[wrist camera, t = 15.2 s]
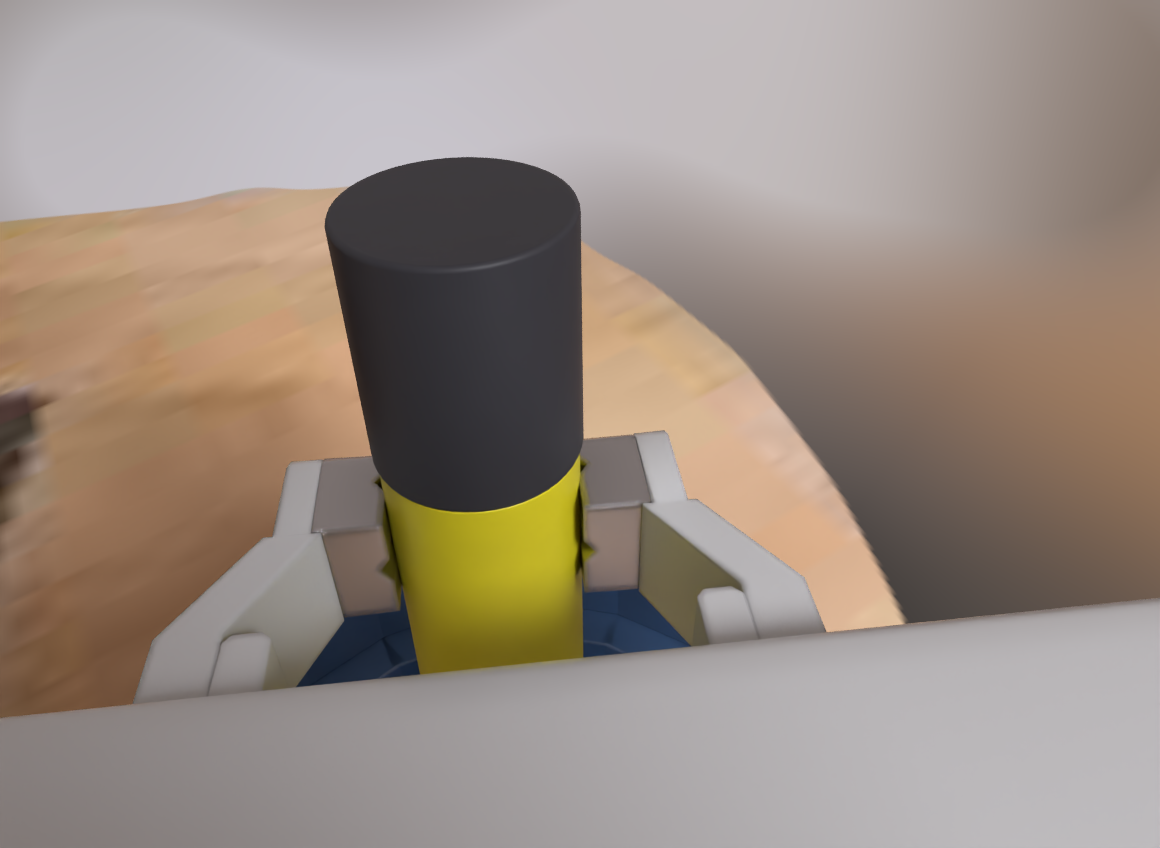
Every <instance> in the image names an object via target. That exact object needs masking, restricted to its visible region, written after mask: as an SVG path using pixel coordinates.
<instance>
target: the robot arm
mask: <svg viewBox="0 0 1160 848" xmlns="http://www.w3.org/2000/svg"><path fill="white" fill-rule="evenodd" d="M579 505H580V522H581V534H580V559H581V572H582V578H583V584H584V590H585V593H588V592H602V591H616V590H630V589H639V592H640V593H641V594H642V595H643V596H644V597H645V598H646V599H647V600H648V601H649V602H650V604H651V605H652V606H653V607H654V608H655V609H656V610H657V611H658V612H659V613H660V614H661V615H662V616H663V617H664V618H665V619H666V620H667V621H668V622H669V623H670V624H671V626H672V627H673V628H674V629H675V630H676V631H677V632H678V633H679V634H680V635H681V636H682V637H683V638H684V639H685V640H686V641H687V642H688V643H689V644H690V645H691V647H682V648H672V649H662V650H652V651H643V652H633V653H623V654H613V655H603V656H593V657H583V658H574V659H564V660H554V661H544V662H535V663H525V664H516V665H506V666H496V667H487V668H477V669H468V670H458V671H448V672H439V673H429V674H420V675H410V676H401V677H391V678H381V679H372V680H362V681H352V682H343V683H333V684H323V685H314V686H304V687H296V686H297V685H298V683H299V682H300V681H301V679H302V678H303V677H304V675H305V674H306V672H307V671H308V670H309V668H310V667H311V666H312V664H313V663H314V662H315V660H316V659H317V657H318V656H319V655H320V653H321V652H322V651H323V649H324V648H325V646H326V645H327V644H328V642H329V641H330V640H331V638H332V637H333V636H334V634H335V633H336V631H337V630H338V629H339V627H340V626H341V625H342V623H343V622H344V618H345V617H353V616H361V615H369V614H377V613H385V612H393V611H400V605H401V587H402V582H401V577H400V572H399V567H398V562H397V557H396V553H395V548H394V543H393V538H392V533H391V528H390V523H389V518H388V513H387V508H386V503H385V498H384V494H383V489H382V484H381V479H380V475H379V473H378V472H377V470H376V468H375V465H374V463H373V459H372V456H365V457H349V458H332V459H324V460H309V461H293V462H291V463H290V464H289V465H288V467H287V468H286V473H285V478H284V482H283V487H282V492H281V497H280V502H279V507H278V511H277V516H276V521H275V526H274V531H273V536H272V537H267V538H262V539H261V540H260V541H259V542H258V543H257V544H256V545H254V546H253V547H252V548H251V549H250V550H249V551H248V552H247V553H246V554H245V555H244V556H243V557H242V558H241V559H239V560H238V561H237V562H236V563H235V564H234V565H233V566H232V567H231V568H230V569H229V570H228V571H227V572H225V573H224V574H223V575H222V576H221V577H220V578H219V579H218V580H217V581H216V582H215V583H214V584H213V585H211V586H210V587H209V588H208V589H207V590H206V591H205V592H204V593H203V594H202V595H201V596H200V597H199V598H197V599H196V600H195V601H194V602H193V603H192V604H191V605H190V606H189V607H188V608H187V609H186V610H185V611H183V612H182V613H181V614H180V615H179V616H178V617H177V618H176V619H175V620H174V621H173V622H172V623H171V624H169V625H168V626H167V627H166V628H165V629H164V630H163V631H162V632H161V633H160V634H159V635H158V636H157V637H155V638H154V639H153V640H152V643H151V647H150V650H149V653H148V656H147V659H146V662H145V666H144V669H143V672H142V675H141V678H140V682H139V685H138V688H137V691H136V694H135V697H134V701H133V704H130V705H120V706H111V707H101V708H91V709H82V710H72V711H62V712H53V713H43V714H33V715H23V716H14V717H4V718H0V848H1160V598H1155V599H1145V600H1135V601H1125V602H1116V603H1107V604H1097V605H1087V606H1077V607H1067V608H1058V609H1048V610H1038V611H1029V612H1019V613H1010V614H1000V615H990V616H980V617H971V618H961V619H951V620H942V621H932V622H923V623H912V624H903V625H893V626H883V627H874V628H864V629H854V630H845V631H835V632H826V630H825V627H824V625H823V622H822V620H821V617H820V615H819V612H818V610H817V608H816V605H815V603H814V600H813V598H812V595H811V593H810V590H809V588H808V585H807V583H806V580H805V578H804V577H803V576H802V575H800V574H799V573H798V572H796V571H795V570H793V569H792V568H791V567H789V566H788V565H787V564H785V563H784V562H783V561H781V560H780V559H778V558H777V557H776V556H774V555H773V554H772V553H770V552H769V551H767V550H766V549H765V548H763V547H762V546H761V545H759V544H758V543H757V542H755V541H754V540H752V539H751V538H750V537H748V536H747V535H746V534H744V533H743V532H741V531H740V530H739V529H737V528H736V527H735V526H733V525H732V524H731V523H729V522H728V521H726V520H725V519H724V518H722V517H721V516H720V515H718V514H717V513H715V512H714V511H713V510H711V509H710V508H709V507H707V506H706V505H704V504H703V503H702V502H700V501H699V500H698V499H690V500H688V498H687V495H686V492H685V488H684V485H683V482H682V478H681V475H680V472H679V469H678V465H677V462H676V459H675V456H674V452H673V449H672V446H671V442H670V439H669V436H668V434H667V433H666V432H665V431H664V430H663V431H654V432H644V433H635V434H633V435H621V436H610V437H599V438H587V439H583V444H582V448H581V451H580V481H579Z"/></svg>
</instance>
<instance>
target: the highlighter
mask: <svg viewBox="0 0 1160 848" xmlns="http://www.w3.org/2000/svg"><path fill="white" fill-rule="evenodd" d="M325 231H326V236H327V241H328V246H329V251H330V256H331V260H332V265H333V270H334V275H335V280H336V285H337V289H338V294H339V299H340V304H341V309H342V314H343V318H344V323H345V328H346V333H347V338H348V343H349V348H350V352H351V357H352V362H353V367H354V372H355V377H356V381H357V386H358V391H359V396H360V401H361V406H362V410H363V415H364V420H365V425H366V430H367V435H368V440H369V444H370V449H371V454H372V459H373V463H374V465H375V468H376V470H377V472H378V473H379V475H380V479H381V484H382V489H383V494H384V498H385V503H386V508H387V513H388V518H389V523H390V528H391V533H392V538H393V543H394V548H395V553H396V557H397V562H398V567H399V572H400V577H401V582H402V588H403V593H404V598H405V602H406V607H407V612H408V617H409V622H410V627H411V632H412V637H413V642H414V647H415V652H416V657H417V662H418V666H419V671H420V674H429V673H439V672H448V671H458V670H468V669H477V668H487V667H496V666H506V665H516V664H525V663H535V662H544V661H554V660H564V659H574V658H583V606H582V572H581V559H580V534H581V522H580V505H579V481H580V451H581V448H582V444H583V365H582V287H581V211H580V203H579V201H578V199H577V196H576V194H575V192H574V191H573V190H572V188H571V187H570V186H569V185H568V184H567V183H566V182H565V181H563V180H562V179H560V178H559V177H557V176H556V175H554V174H552V173H550V172H548V171H546V170H543V169H540V168H538V167H535V166H531V165H528V164H524V163H520V162H515V161H510V160H502V159H494V158H493V159H492V158H476V157H475V158H474V157H461V158H444V159H434V160H427V161H421V162H416V163H410V164H406V165H402V166H398V167H394V168H391V169H388V170H385V171H382V172H379V173H376V174H374V175H371V176H369V177H367V178H365V179H363V180H361V181H359V182H357V183H355V184H354V185H352V186H350V187H349V188H348V189H346V190H345V191H344V192H342V193H341V194H340V195H339V196H338V197H337V198H336V199H335V200H334V201H333V203H332V204H331V206H330V207H329V210H328V212H327V215H326V219H325Z"/></svg>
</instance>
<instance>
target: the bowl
mask: <svg viewBox="0 0 1160 848" xmlns="http://www.w3.org/2000/svg"><path fill="white" fill-rule="evenodd" d="M582 606H583V657H593V656H603V655H613V654H623V653H633V652H643V651H652V650H662V649H672V648H682V647H691V645H690V644H689V643H688V642H687V641H686V640H685V639H684V638H683V637H682V636H681V635H680V634H679V633H678V632H677V631H676V630H675V629H674V628H673V627H672V626H671V624H670V623H669V622H668V621H667V620H666V619H665V618H664V617H663V616H662V615H661V614H660V613H659V612H658V611H657V610H656V609H655V608H654V607H653V606H652V605H651V604H650V602H649V601H648V600H647V599H646V598H645V597H644V596H643V595H642V594H641V593H640V592H639V589H630V590H616V591H602V592H588V593H585V590H584V584H583V578H582ZM410 675H420V671H419V666H418V662H417V657H416V652H415V647H414V642H413V637H412V632H411V627H410V622H409V617H408V612H407V607H406V602H405V598H404V593H403V588H402V587H401V605H400V611H393V612H385V613H377V614H369V615H361V616H353V617H345V618H344V622H343V623H342V625H341V626H340V627H339V629H338V630H337V631H336V633H335V634H334V636H333V637H332V638H331V640H330V641H329V642H328V644H327V645H326V646H325V648H324V649H323V651H322V652H321V653H320V655H319V656H318V657H317V659H316V660H315V662H314V663H313V664H312V666H311V667H310V668H309V670H308V671H307V672H306V674H305V675H304V677H303V678H302V679H301V681H300V682H299V683H298V685H297V686H296V687H304V686H314V685H323V684H333V683H343V682H352V681H362V680H372V679H381V678H391V677H401V676H410Z"/></svg>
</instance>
